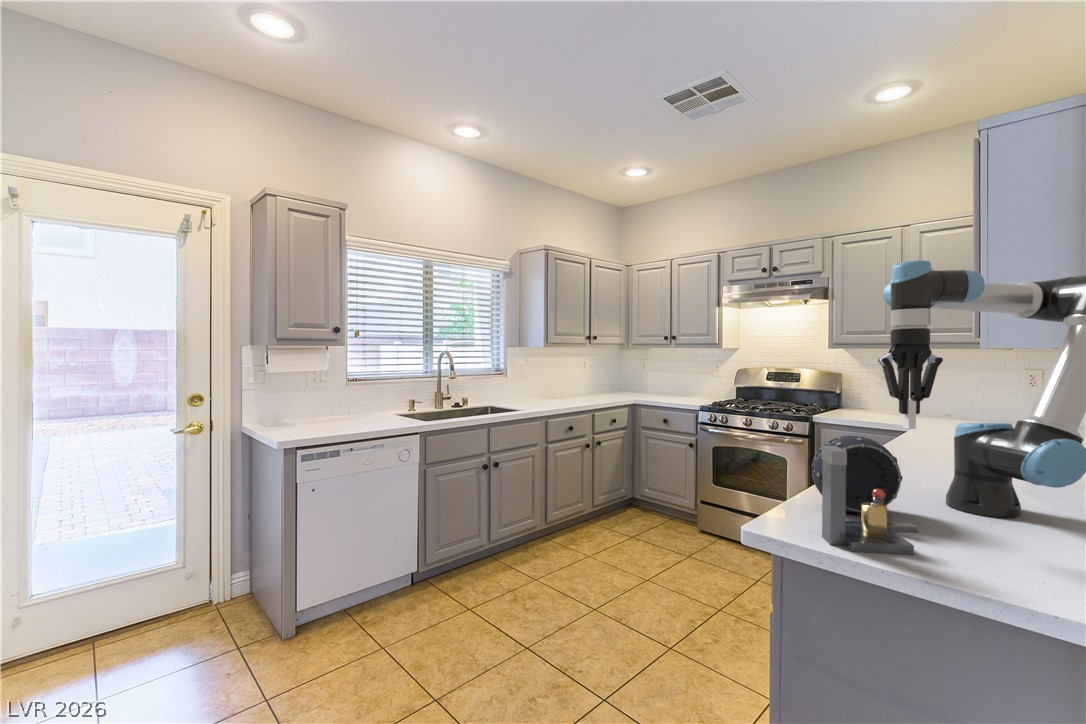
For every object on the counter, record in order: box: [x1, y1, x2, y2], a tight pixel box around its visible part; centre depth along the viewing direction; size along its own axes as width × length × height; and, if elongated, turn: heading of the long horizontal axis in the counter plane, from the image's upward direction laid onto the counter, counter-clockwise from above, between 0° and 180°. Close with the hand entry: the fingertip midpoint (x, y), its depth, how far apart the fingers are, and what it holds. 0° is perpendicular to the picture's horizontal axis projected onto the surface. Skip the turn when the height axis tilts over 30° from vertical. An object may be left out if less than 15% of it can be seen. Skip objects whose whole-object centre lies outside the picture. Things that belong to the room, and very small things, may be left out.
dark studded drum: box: [811, 435, 903, 516], centre depth 133 cm, size 11×20×20 cm, turn 78°
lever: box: [871, 488, 891, 525], centre depth 120 cm, size 4×3×8 cm
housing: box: [860, 502, 888, 539], centre depth 111 cm, size 5×5×7 cm
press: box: [821, 445, 919, 556], centre depth 113 cm, size 23×17×21 cm
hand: (909, 427), depth 118 cm, fingers closed
